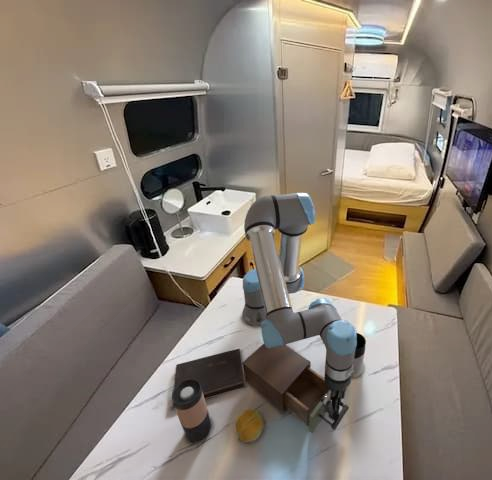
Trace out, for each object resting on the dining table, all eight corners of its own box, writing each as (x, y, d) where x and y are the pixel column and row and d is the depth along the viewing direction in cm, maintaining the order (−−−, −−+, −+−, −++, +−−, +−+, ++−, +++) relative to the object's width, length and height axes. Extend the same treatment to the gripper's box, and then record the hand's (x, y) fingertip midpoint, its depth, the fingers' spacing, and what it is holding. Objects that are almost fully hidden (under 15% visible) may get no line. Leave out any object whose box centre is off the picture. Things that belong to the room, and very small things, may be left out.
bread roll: (245, 449, 82) (244, 442, 80) (232, 424, 87) (230, 417, 85) (269, 430, 86) (268, 423, 84) (255, 407, 92) (254, 400, 90)
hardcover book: (177, 368, 104) (176, 364, 103) (240, 351, 111) (239, 348, 110) (173, 409, 91) (172, 405, 90) (244, 387, 98) (244, 383, 97)
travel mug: (211, 439, 84) (199, 400, 74) (184, 447, 82) (168, 408, 72) (212, 414, 90) (202, 375, 80) (187, 420, 88) (173, 382, 78)
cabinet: (310, 379, 102) (310, 361, 97) (282, 412, 91) (281, 394, 86) (273, 353, 111) (272, 335, 106) (245, 380, 100) (242, 362, 95)
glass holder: (367, 370, 106) (372, 344, 98) (337, 388, 99) (340, 361, 92) (353, 354, 112) (357, 327, 105) (324, 369, 106) (326, 342, 98)
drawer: (351, 409, 92) (354, 395, 88) (328, 447, 82) (330, 432, 78) (297, 370, 104) (296, 355, 100) (271, 399, 94) (270, 384, 90)
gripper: (337, 396, 69) (331, 443, 80) (361, 360, 78) (353, 407, 90) (313, 379, 73) (311, 427, 84) (339, 347, 82) (334, 394, 94)
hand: (333, 417), depth 87 cm, fingers closed
